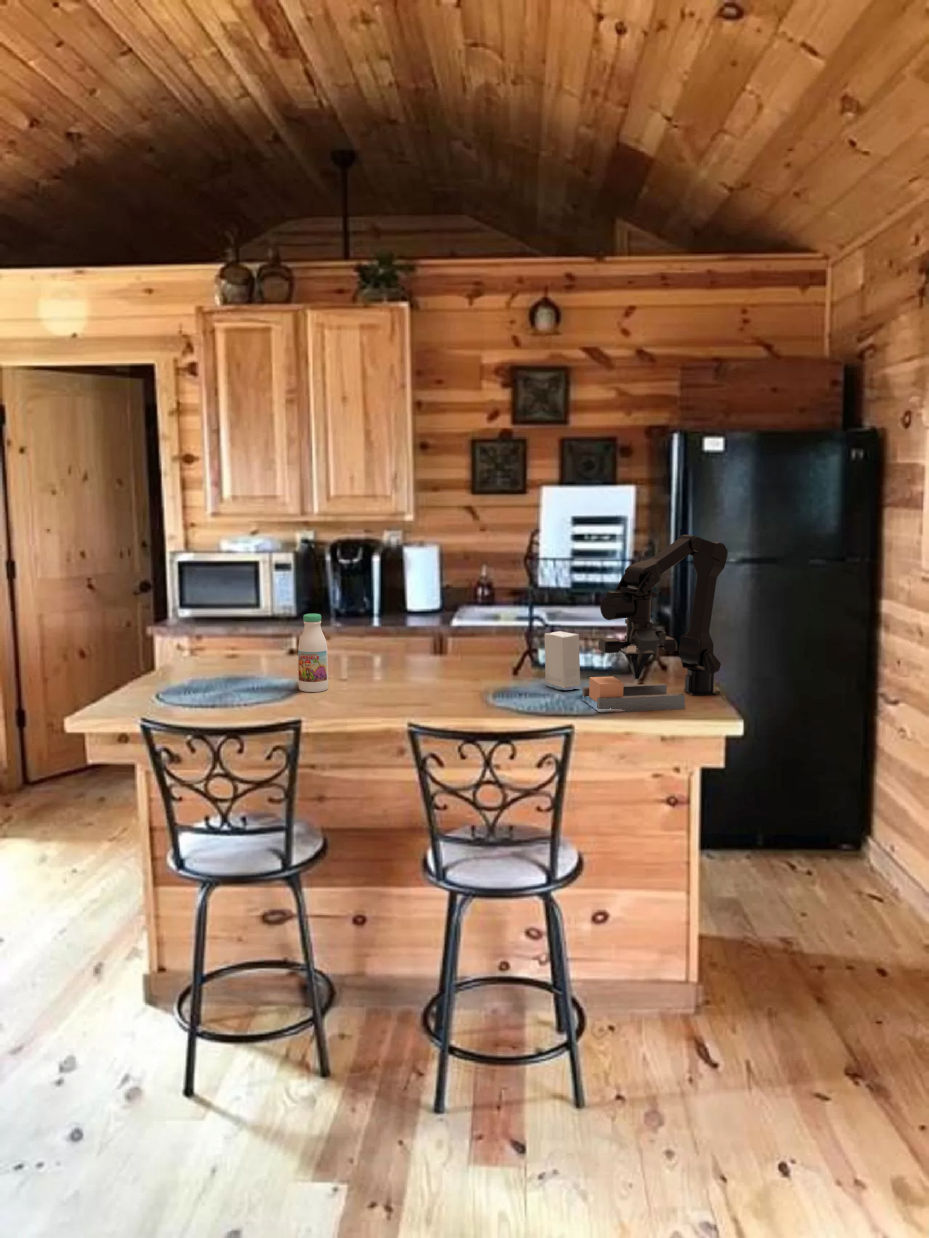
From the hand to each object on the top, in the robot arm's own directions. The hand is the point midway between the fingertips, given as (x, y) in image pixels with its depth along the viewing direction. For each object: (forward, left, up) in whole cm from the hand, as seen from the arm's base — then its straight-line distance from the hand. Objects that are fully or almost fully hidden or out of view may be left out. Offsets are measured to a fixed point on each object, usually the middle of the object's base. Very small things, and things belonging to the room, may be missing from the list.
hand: (636, 678), depth 258 cm
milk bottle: (+78, -31, -7) cm, 84 cm away
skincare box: (+13, -21, -7) cm, 26 cm away
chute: (+1, 0, -7) cm, 7 cm away
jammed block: (+8, 0, -5) cm, 9 cm away
